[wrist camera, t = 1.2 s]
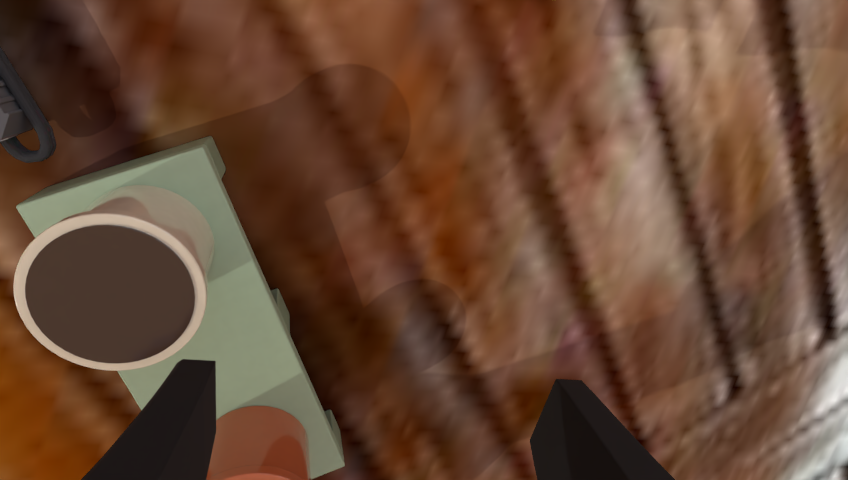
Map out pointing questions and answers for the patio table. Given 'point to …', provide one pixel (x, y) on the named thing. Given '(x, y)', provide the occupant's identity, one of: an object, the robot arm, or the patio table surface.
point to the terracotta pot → (259, 446)
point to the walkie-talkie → (21, 116)
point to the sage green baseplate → (214, 297)
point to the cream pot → (118, 279)
